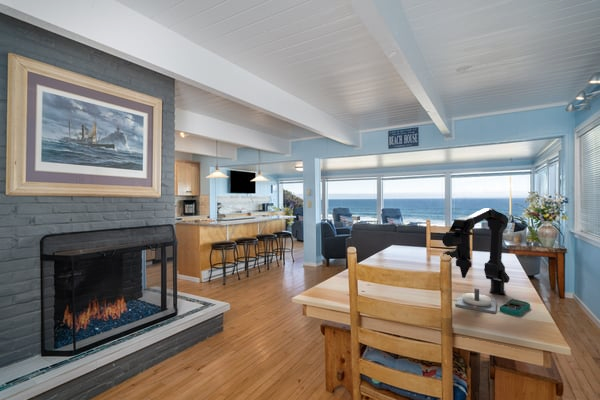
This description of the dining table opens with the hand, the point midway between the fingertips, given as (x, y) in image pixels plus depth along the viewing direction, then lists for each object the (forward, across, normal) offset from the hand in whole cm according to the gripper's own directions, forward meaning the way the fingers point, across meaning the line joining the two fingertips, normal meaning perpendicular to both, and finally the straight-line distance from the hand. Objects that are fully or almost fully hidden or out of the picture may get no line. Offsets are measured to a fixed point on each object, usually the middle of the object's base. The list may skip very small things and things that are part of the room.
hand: (463, 277), depth 138 cm
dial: (+9, +4, +5) cm, 11 cm away
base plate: (+11, +4, +5) cm, 12 cm away
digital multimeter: (+11, +3, +19) cm, 23 cm away
